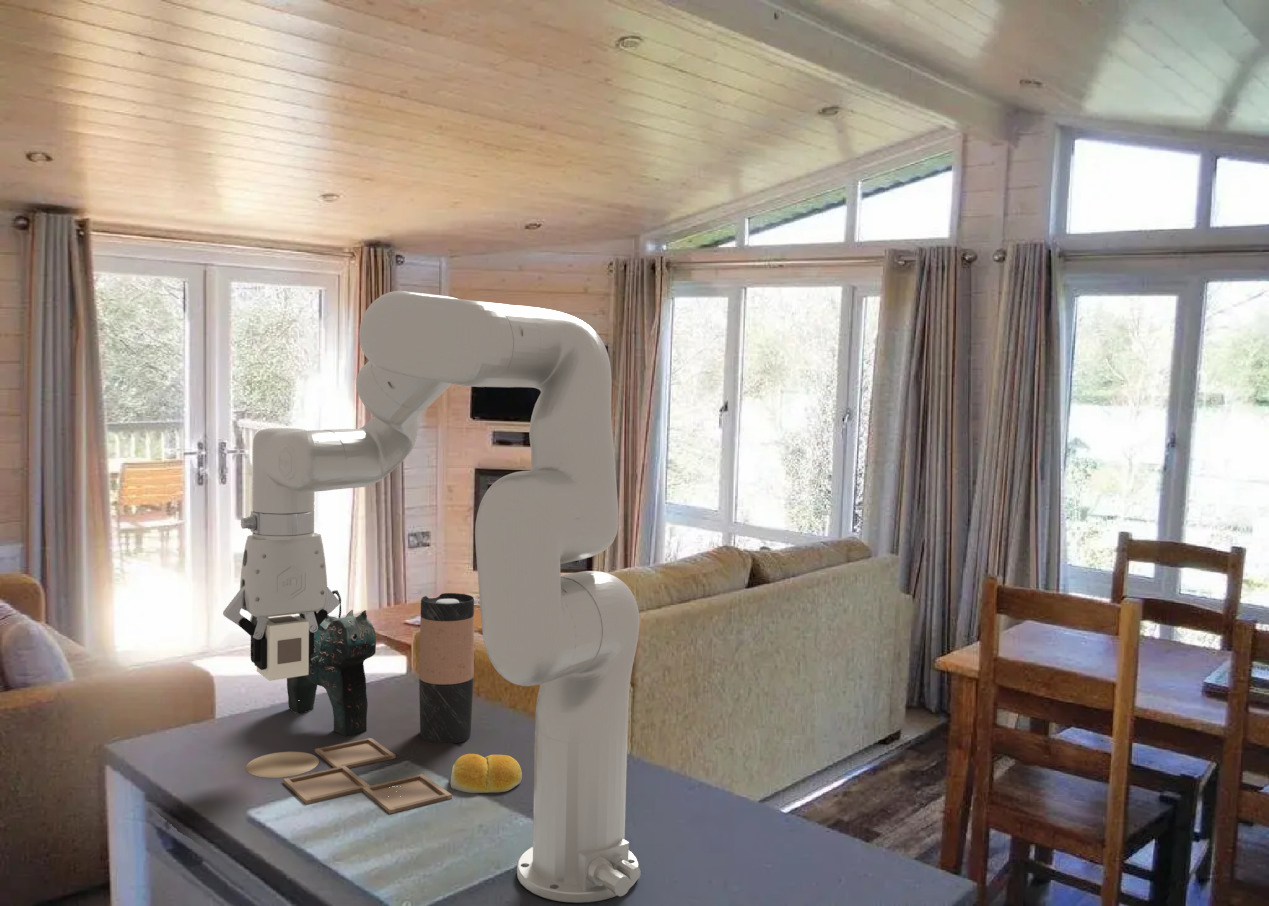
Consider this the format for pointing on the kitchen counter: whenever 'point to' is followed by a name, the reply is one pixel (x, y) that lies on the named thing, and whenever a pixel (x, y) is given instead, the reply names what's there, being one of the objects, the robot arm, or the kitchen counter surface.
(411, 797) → the tray
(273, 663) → the white box with panels
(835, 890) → the kitchen counter surface
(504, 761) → the bread roll
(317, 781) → the tray
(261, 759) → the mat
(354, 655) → the ceramic cat
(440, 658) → the travel mug
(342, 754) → the tray
